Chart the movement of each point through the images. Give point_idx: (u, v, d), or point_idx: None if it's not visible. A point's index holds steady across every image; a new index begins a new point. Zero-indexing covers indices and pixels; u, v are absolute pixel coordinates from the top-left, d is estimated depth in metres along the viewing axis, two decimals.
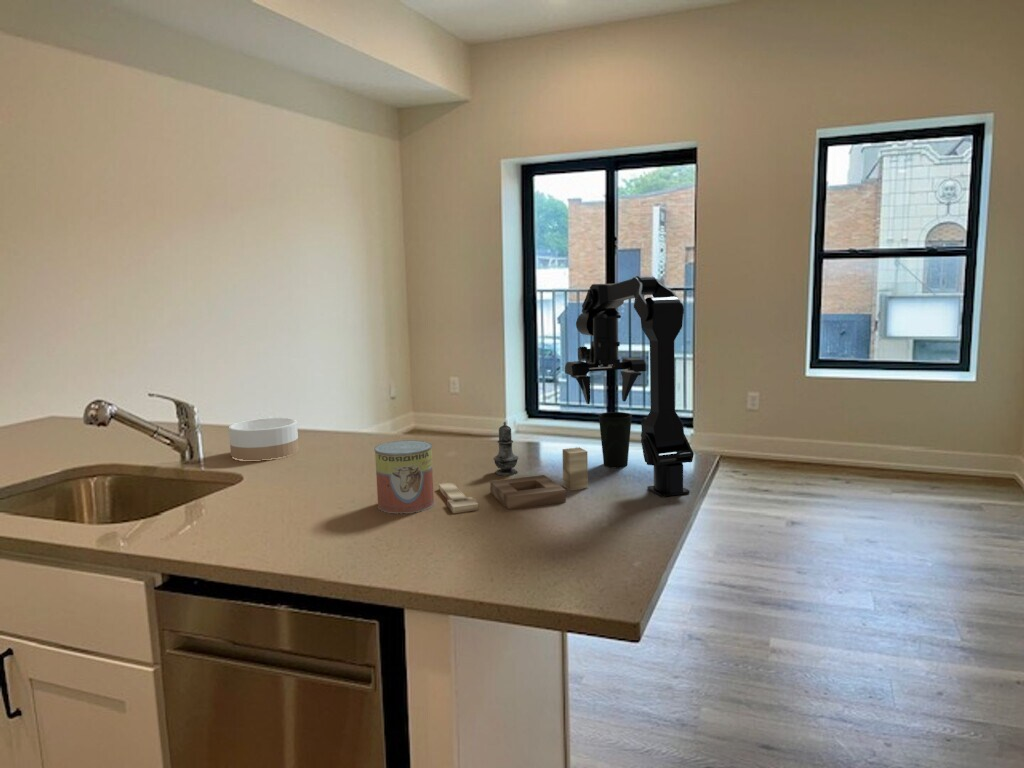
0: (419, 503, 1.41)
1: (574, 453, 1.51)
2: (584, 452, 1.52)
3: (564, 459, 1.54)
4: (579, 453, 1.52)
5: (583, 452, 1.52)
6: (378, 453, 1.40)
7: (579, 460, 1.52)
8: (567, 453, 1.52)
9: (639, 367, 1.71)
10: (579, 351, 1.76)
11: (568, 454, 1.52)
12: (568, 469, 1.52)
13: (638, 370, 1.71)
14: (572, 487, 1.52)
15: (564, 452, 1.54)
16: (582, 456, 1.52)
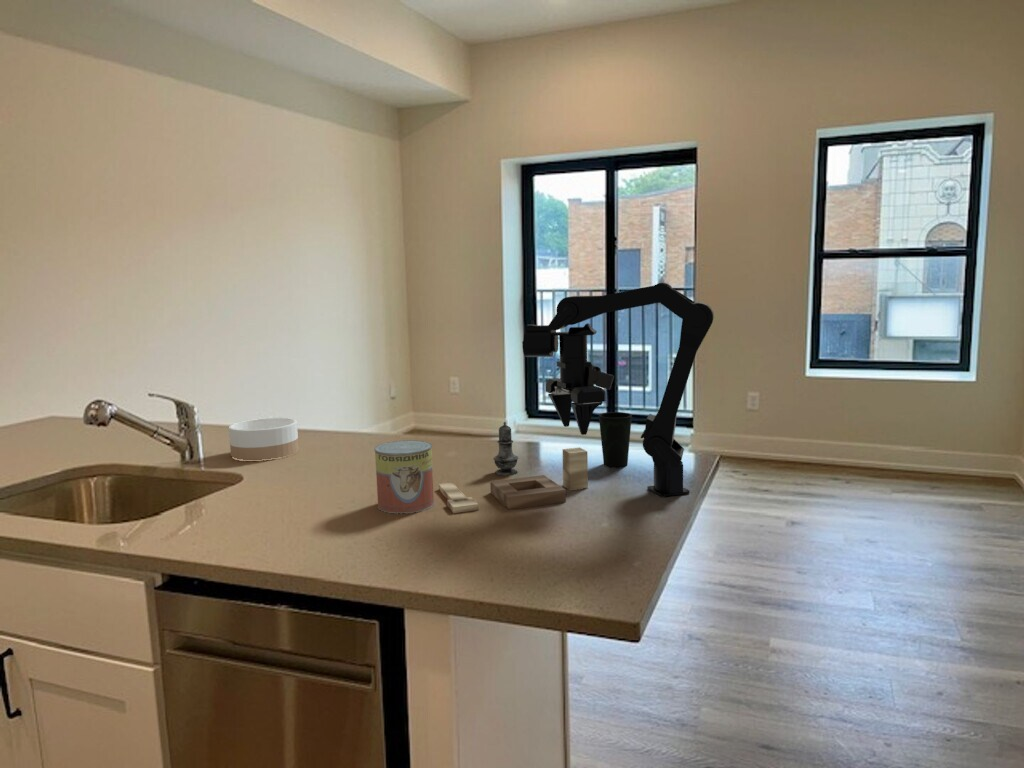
0: (419, 503, 1.41)
1: (574, 453, 1.51)
2: (584, 452, 1.52)
3: (564, 459, 1.54)
4: (579, 453, 1.52)
5: (583, 452, 1.52)
6: (378, 453, 1.40)
7: (579, 460, 1.52)
8: (567, 453, 1.52)
9: (574, 397, 1.44)
10: None
11: (568, 454, 1.52)
12: (568, 469, 1.52)
13: (573, 400, 1.44)
14: (572, 487, 1.52)
15: (564, 452, 1.54)
16: (582, 456, 1.52)
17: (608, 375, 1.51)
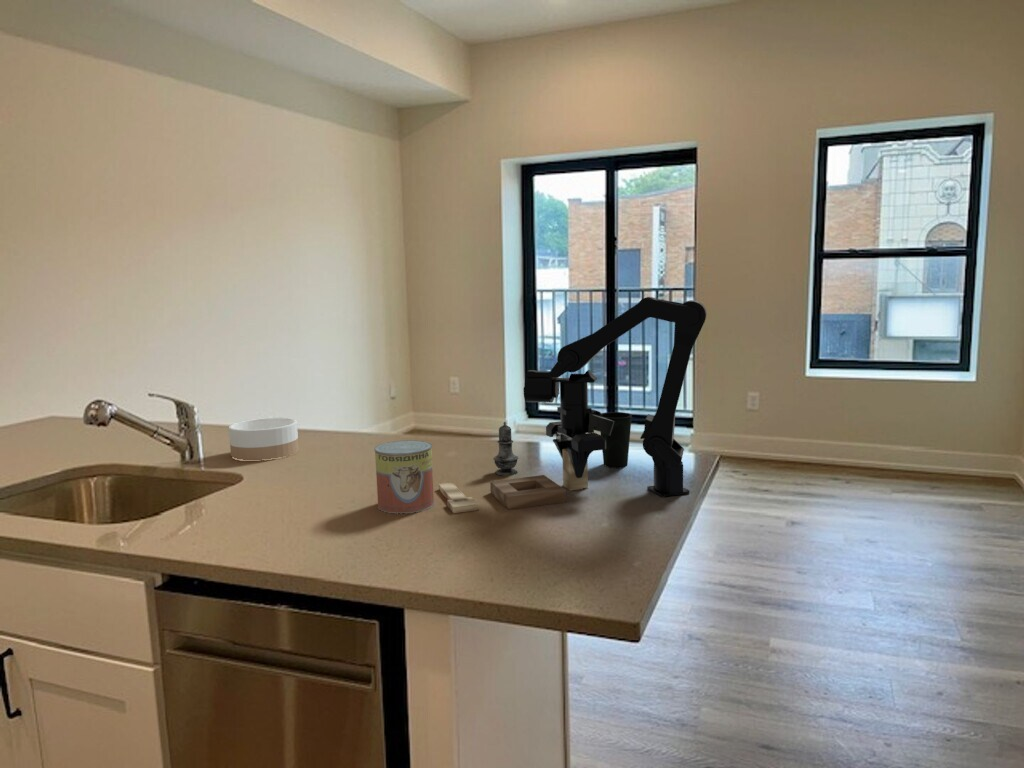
0: (419, 503, 1.41)
1: None
2: None
3: (564, 459, 1.54)
4: None
5: None
6: (378, 453, 1.40)
7: None
8: (567, 453, 1.52)
9: (574, 445, 1.45)
10: None
11: (568, 454, 1.52)
12: (568, 469, 1.52)
13: (574, 448, 1.45)
14: (572, 487, 1.52)
15: (564, 452, 1.54)
16: None
17: (608, 421, 1.52)
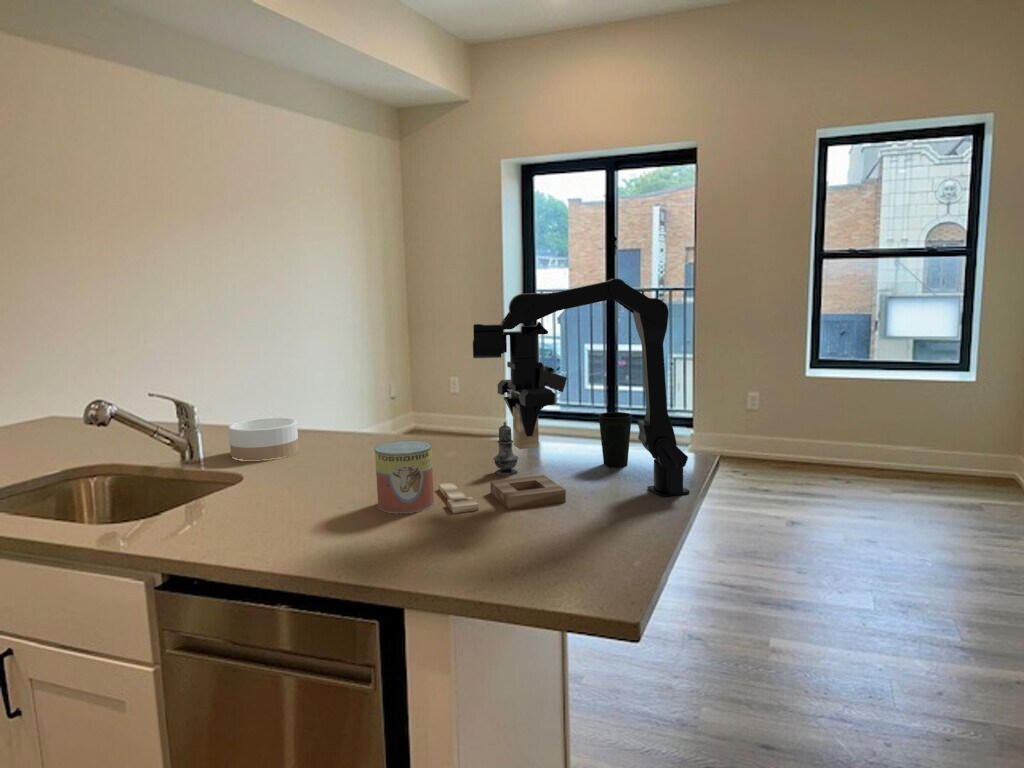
0: (419, 503, 1.41)
1: None
2: None
3: (514, 417, 1.46)
4: None
5: None
6: (378, 453, 1.40)
7: None
8: (517, 410, 1.44)
9: (522, 400, 1.37)
10: None
11: (517, 411, 1.44)
12: (518, 427, 1.44)
13: (522, 403, 1.38)
14: (522, 446, 1.44)
15: (514, 409, 1.46)
16: None
17: (561, 377, 1.44)
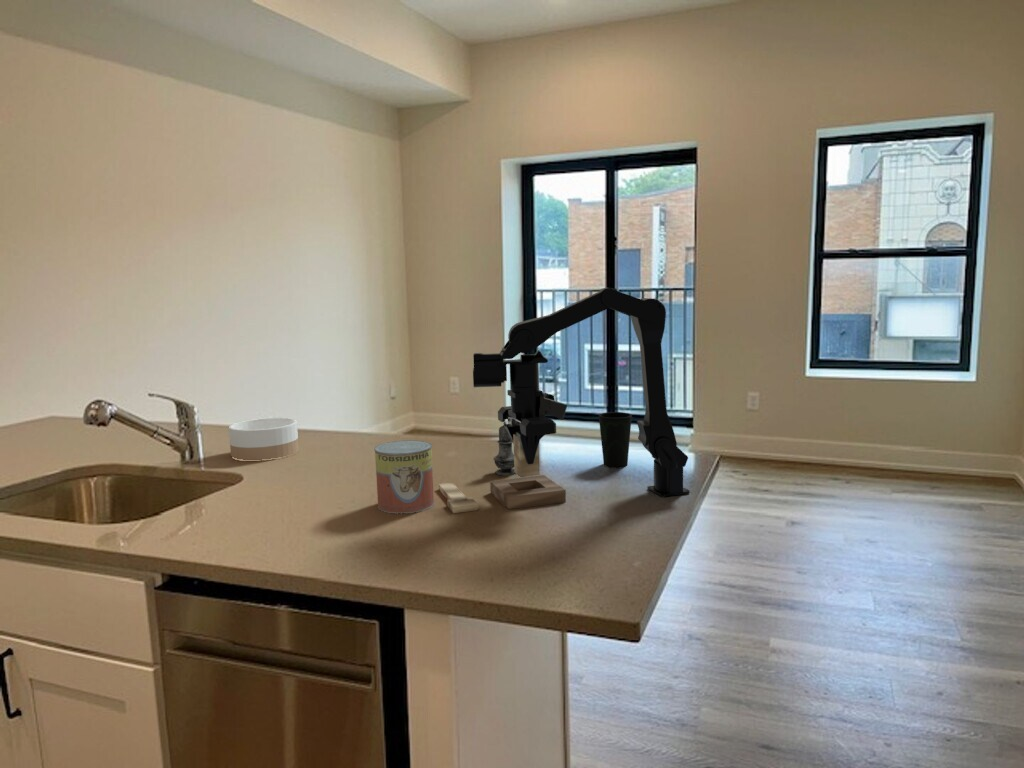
0: (419, 503, 1.41)
1: None
2: None
3: (515, 444, 1.47)
4: None
5: None
6: (378, 453, 1.40)
7: None
8: (517, 438, 1.45)
9: (523, 429, 1.38)
10: None
11: (518, 439, 1.44)
12: (518, 455, 1.45)
13: (522, 432, 1.38)
14: (523, 474, 1.45)
15: (515, 437, 1.46)
16: None
17: (561, 404, 1.45)
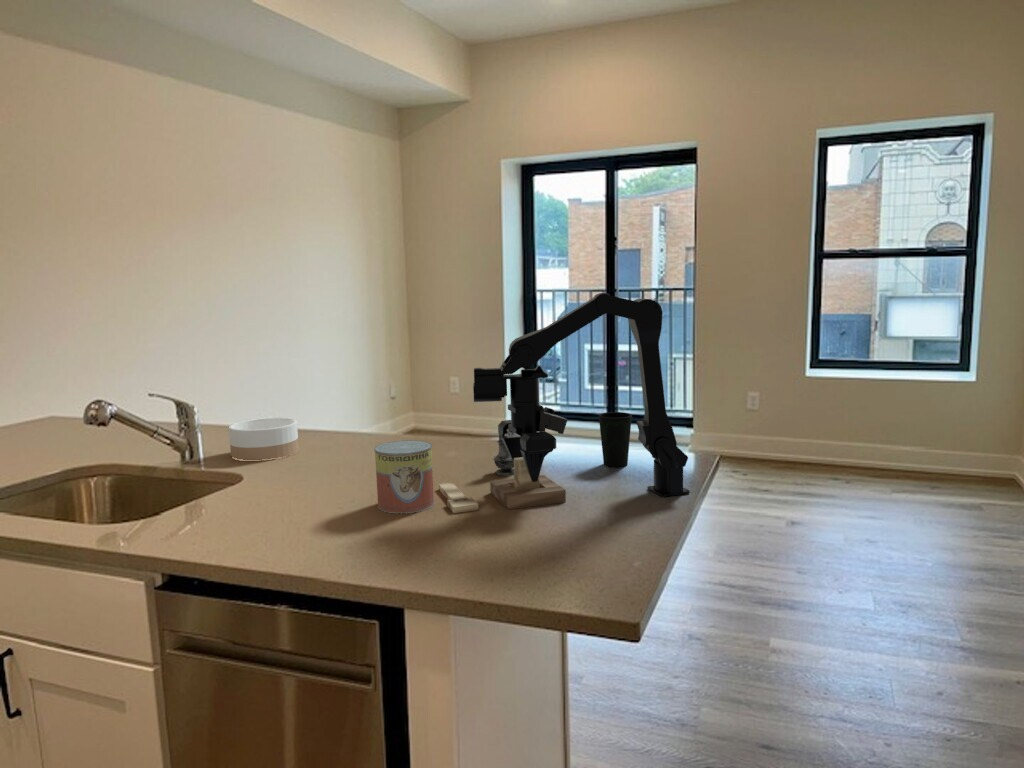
0: (419, 503, 1.41)
1: None
2: None
3: (515, 468, 1.47)
4: None
5: None
6: (378, 453, 1.40)
7: None
8: (518, 462, 1.45)
9: (523, 445, 1.38)
10: None
11: (519, 463, 1.45)
12: (519, 479, 1.46)
13: (523, 447, 1.39)
14: None
15: (515, 461, 1.47)
16: None
17: (561, 419, 1.45)
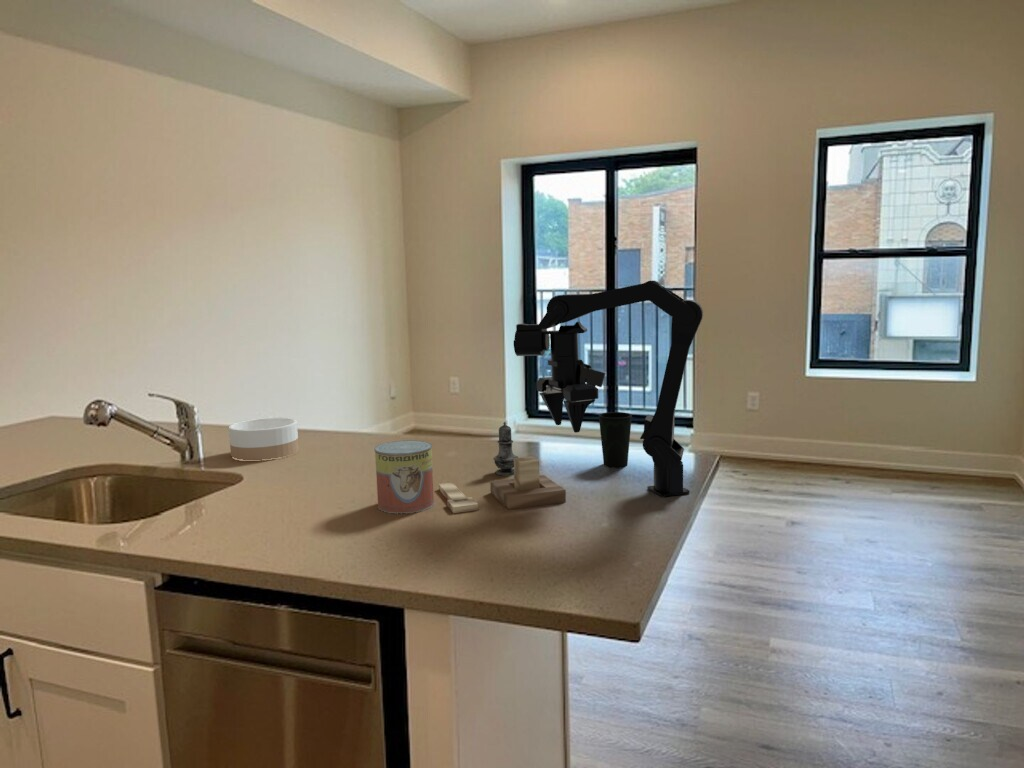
0: (419, 503, 1.41)
1: (525, 462, 1.45)
2: (535, 461, 1.45)
3: (515, 468, 1.47)
4: (530, 462, 1.45)
5: (534, 461, 1.45)
6: (378, 453, 1.40)
7: (530, 470, 1.45)
8: (518, 462, 1.45)
9: (567, 395, 1.44)
10: None
11: (519, 463, 1.45)
12: (519, 479, 1.46)
13: (566, 398, 1.45)
14: None
15: (515, 461, 1.47)
16: (533, 465, 1.45)
17: (599, 373, 1.52)
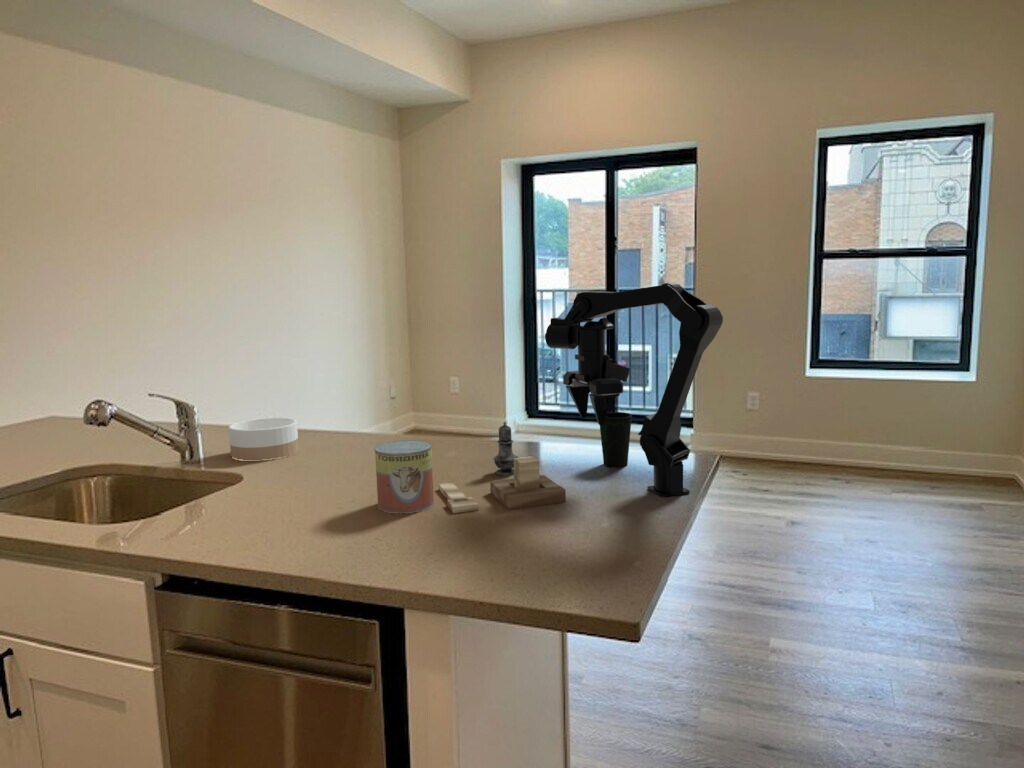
0: (419, 503, 1.41)
1: (525, 462, 1.45)
2: (535, 461, 1.45)
3: (515, 468, 1.47)
4: (530, 462, 1.45)
5: (534, 461, 1.45)
6: (378, 453, 1.40)
7: (530, 470, 1.45)
8: (518, 462, 1.45)
9: (592, 389, 1.49)
10: None
11: (519, 463, 1.45)
12: (519, 479, 1.46)
13: (592, 392, 1.50)
14: None
15: (515, 461, 1.47)
16: (533, 465, 1.45)
17: (625, 368, 1.56)
